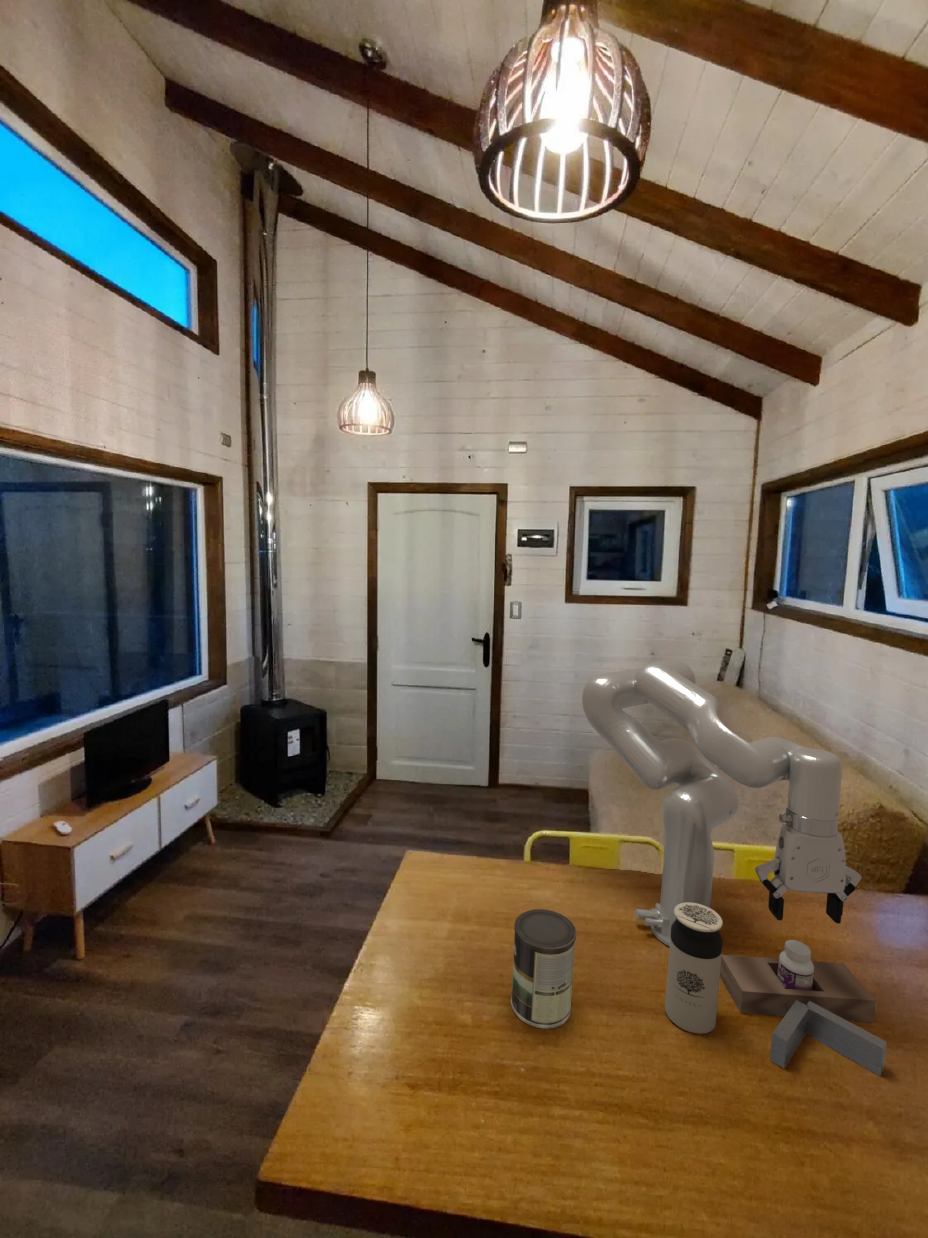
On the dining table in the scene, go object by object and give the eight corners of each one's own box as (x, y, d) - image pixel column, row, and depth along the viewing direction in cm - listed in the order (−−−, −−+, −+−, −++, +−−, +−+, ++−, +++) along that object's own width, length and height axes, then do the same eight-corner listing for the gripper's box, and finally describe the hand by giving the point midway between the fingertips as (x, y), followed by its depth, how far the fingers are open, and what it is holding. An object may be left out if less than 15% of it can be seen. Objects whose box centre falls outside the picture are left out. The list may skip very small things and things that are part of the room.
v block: (774, 1068, 86) (777, 1041, 85) (748, 1021, 95) (750, 996, 94) (889, 1077, 85) (893, 1049, 85) (852, 1029, 94) (855, 1004, 93)
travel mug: (677, 991, 101) (685, 895, 99) (723, 1017, 95) (732, 916, 94) (656, 1014, 95) (664, 913, 94) (703, 1044, 90) (712, 937, 88)
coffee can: (501, 1014, 94) (505, 935, 93) (522, 975, 103) (526, 902, 102) (561, 1039, 90) (566, 956, 88) (578, 996, 99) (583, 920, 98)
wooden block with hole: (740, 1013, 96) (742, 991, 96) (719, 975, 105) (721, 955, 105) (873, 1022, 95) (876, 1000, 95) (840, 983, 104) (843, 963, 104)
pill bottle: (769, 987, 103) (773, 937, 102) (796, 986, 103) (801, 936, 102) (788, 1010, 98) (793, 957, 97) (817, 1009, 98) (822, 957, 97)
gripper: (770, 829, 94) (763, 928, 95) (878, 834, 93) (870, 933, 94) (750, 811, 101) (744, 902, 103) (849, 815, 100) (842, 907, 102)
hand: (804, 917), depth 98 cm, fingers open, 9 cm apart
